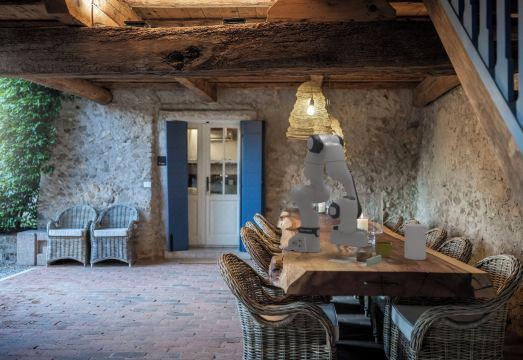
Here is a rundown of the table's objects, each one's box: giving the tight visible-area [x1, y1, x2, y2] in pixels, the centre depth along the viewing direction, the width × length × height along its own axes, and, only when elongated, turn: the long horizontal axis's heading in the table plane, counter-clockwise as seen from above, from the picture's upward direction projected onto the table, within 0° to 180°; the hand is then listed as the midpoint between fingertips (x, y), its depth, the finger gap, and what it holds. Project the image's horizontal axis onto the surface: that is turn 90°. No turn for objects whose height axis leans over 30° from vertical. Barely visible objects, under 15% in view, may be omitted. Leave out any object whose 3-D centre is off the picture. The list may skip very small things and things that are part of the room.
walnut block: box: [355, 251, 373, 263], centre depth 236 cm, size 6×6×4 cm
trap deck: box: [327, 255, 382, 267], centre depth 236 cm, size 22×18×4 cm
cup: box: [403, 223, 427, 261], centre depth 254 cm, size 11×11×18 cm
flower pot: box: [374, 240, 393, 259], centre depth 250 cm, size 9×9×9 cm
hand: (348, 254), depth 241 cm, fingers open, 8 cm apart
